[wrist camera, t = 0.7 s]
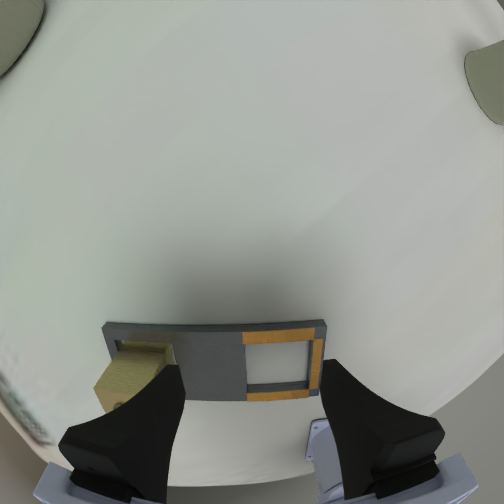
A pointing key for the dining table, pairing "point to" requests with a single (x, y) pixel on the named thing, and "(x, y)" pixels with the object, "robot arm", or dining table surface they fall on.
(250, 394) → the grey frame plate
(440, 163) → the dining table surface
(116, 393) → the block
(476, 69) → the can
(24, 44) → the canister
